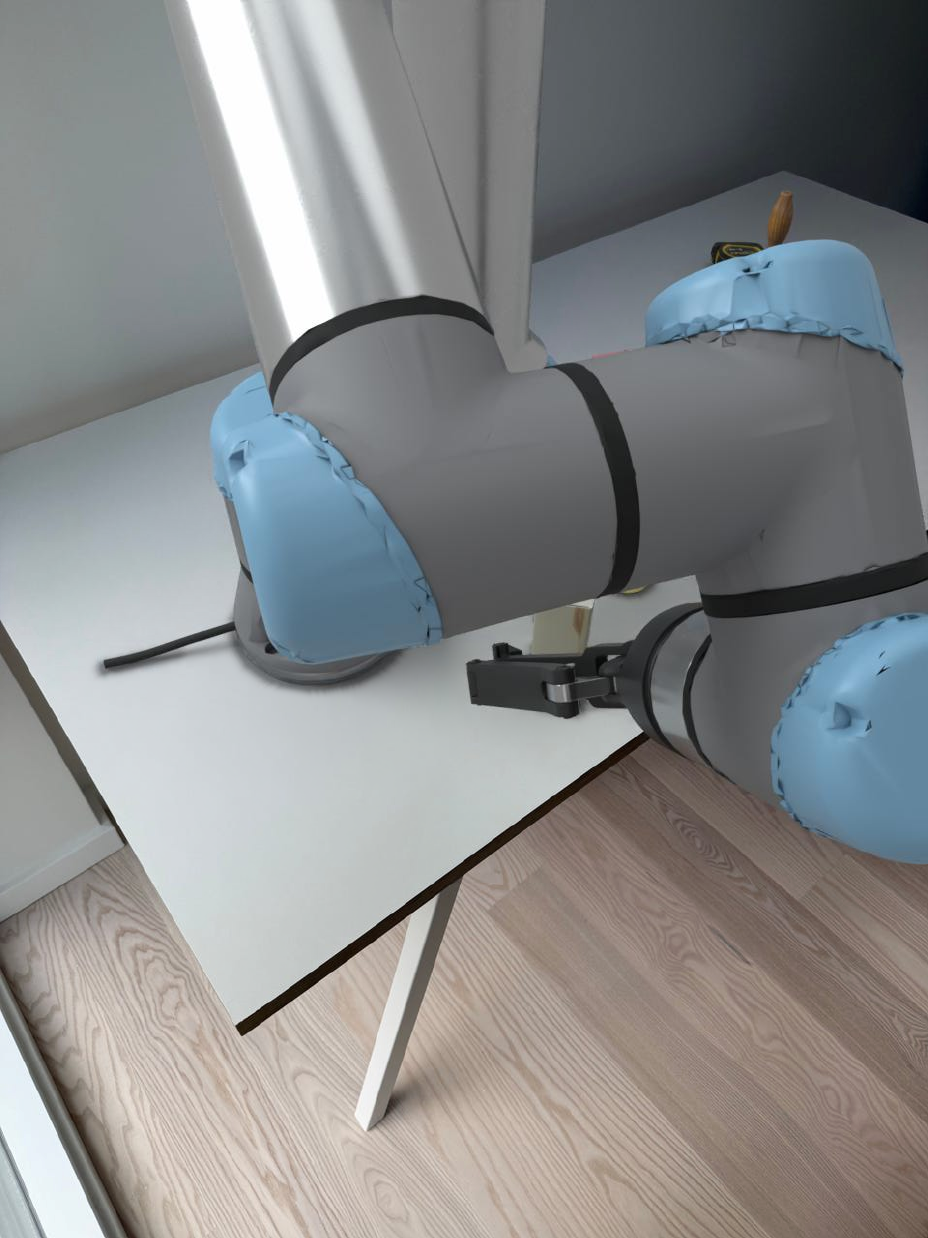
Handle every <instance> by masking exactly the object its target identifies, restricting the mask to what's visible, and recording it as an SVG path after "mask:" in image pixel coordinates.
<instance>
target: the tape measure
mask: <svg viewBox="0 0 928 1238" xmlns="http://www.w3.org/2000/svg"><path fill="white" fill-rule="evenodd" d="M765 249H766V248H764V247H763V245H762V244H760V243H757V242H751V241H749V242H748V241H716V242H715V243H714V244H713V246H711V251H710V257H711V263H712V265H714V264H717V263H719V262H722V261H725V260H728V259H731V258H735V257H745V256H748V255H751V254H754V253H757V252H759V251H762V250H765Z"/></svg>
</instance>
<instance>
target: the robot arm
mask: <svg viewBox="0 0 928 1238" xmlns="http://www.w3.org/2000/svg"><path fill="white" fill-rule="evenodd" d="M162 1H163V4H164V8H165V12H166V16H167V19H168V23H169V27H170V31H171V34H172V37H173V42H174V46H175V49H176V53H177V57H178V60H179V64H180V68H181V72H182V75H183V80H184V83H185V88H186V91H187V94H188V98H189V102H190V106H191V109H192V113H193V116H194V121H195V124H196V128H197V132H198V136H199V139H200V143H201V147H202V151H203V155H204V158H205V162H206V166H207V170H208V173H209V177H210V180H211V184H212V188H213V192H214V195H215V200H216V203H217V207H218V211H219V215H220V218H221V221H222V222H221V223H222V226H223V230H224V233H225V237H226V241H227V245H228V248H229V252H230V255H231V259H232V264H233V267H234V271H235V275H236V278H237V282H238V287H239V289H240V292H241V297H242V302H243V305H244V308H245V312H246V315H247V320H248V323H249V327H250V330H251V334H252V338H253V342H254V346H255V350H256V353H257V357H258V361H259V364H260V368H261V371H259V372H257V373H254V374H253V375H251V376H249V377H247V378H246V379H244V380H243V381H241V382H240V383H239V384H237V385H236V386H235V387H234V388H233V389H232V390H231V391H230V394H229V395H228V396H226V397H225V398H224V399H222V401H221V402H220V404H219V405H218V406H217V408H216V410H215V411H214V414H213V417H212V420H211V424H210V427H209V428H210V430H209V443H210V448H211V455H212V459H213V464H214V465H213V477H214V481H215V484H216V487H217V489H218V491H219V492H220V493H221V494H222V497H223V501H224V504H225V509H226V513H227V518H228V521H229V526H230V531H231V533H232V534H231V535H232V537H233V541H234V546H235V549H236V553H237V557H238V560H239V564H240V568H239V574H238V579H237V585H236V590H235V596H234V602H233V621H231V622H227V623H224V624H220V625H218V626H215V627H214V626H213V627H211V628H207V629H205V630H202V631H199V632H194V633H192V634H189V635H186V636H183V637H180V638H177V639H174V640H172V641H171V640H170V641H169V642H166V643H163V644H160V645H156V646H154V647H150V648H147V649H143V650H141V651H137V652H133V653H129V654H125V655H120V656H116V657H111V658H106V659H103V666H104V668H105V669H106V670H107V669H112V668H117V667H121V666H125V665H130V664H134V663H138V662H141V661H144V660H148V659H152V658H154V657H158V656H161V655H165V654H167V653H169V652H173V651H175V650H178V649H181V648H184V647H186V646H190V645H193V644H197V643H200V642H203V641H205V640H208V639H211V638H215V637H219V636H221V635H225V634H228V633H231V632H234V631H235V634H236V637H237V640H238V643H239V646H240V648H241V649H242V652H243V653H244V655H245V656H246V657H247V659H248V660H249V661H250V662H251V663H252V664H253V665H254V666H255V667H256V668H258V669H260V671H263V672H264V673H266V674H268V675H269V676H272V677H275V678H276V679H279V680H281V681H286V682H290V683H295V684H296V683H297V684H305V685H306V684H307V685H308V684H309V685H321V684H322V685H323V684H331V683H337V682H340V681H344V680H349V679H351V678H354V677H356V676H359V675H361V674H363V673H365V672H367V671H369V670H371V669H372V668H374V667H376V666H378V665H379V664H380V663H382V662H383V661H384V660H385V659H386V658H387V657H388V656H389V655H390V654H391V653H392V652H393V651H397V650H402V649H407V648H413V647H417V648H422V647H426V648H431V647H434V646H436V645H438V644H440V642H442V640H445V639H449V638H452V637H456V636H459V635H463V634H466V633H470V632H473V631H476V630H481V629H484V628H487V627H492V626H494V625H499V624H503V623H505V622H508V621H513V620H516V619H520V618H525V617H527V616H532V615H534V614H536V613H540V612H543V611H547V610H551V609H555V608H559V607H563V606H567V605H571V604H574V603H578V602H582V601H586V600H590V599H595V600H599V599H600V598H603V597H607V596H610V595H617V594H620V593H621V592H625V591H629V590H634V589H638V588H642V587H645V588H646V587H649V586H653V585H657V584H661V583H666V582H670V581H674V580H678V579H683V578H686V577H690V576H694V577H695V580H696V583H697V588H698V591H699V596H700V601H701V602H700V601H699V602H698V601H697V602H694V601H693V602H686V603H682V604H678V605H675V606H672V607H670V608H668V609H666V610H663V611H662V612H660V613H658V614H657V615H656V616H654V617H653V618H651V619H650V620H649V621H648V622H647V623H646V624H644V626H643V627H642V629H641V630H640V631H639V632H638V634H636V636H635V637H634V638H633V639H630V640H627V641H625V642H604V643H602V642H601V643H599V644H595V645H591V646H587V648H586V649H585V650H584V652H583V653H564V654H531V653H529V654H524V653H523V649H520V648H518V647H516V646H513V645H511V644H509V643H508V642H504V641H503V642H496V643H492V645H491V651H492V658H493V659H487V660H481V659H480V658H474V659H471V660H469V661H467V662H466V663H465V668H466V678H467V685H468V693H469V699H470V705H475V706H479V707H480V706H485V707H495V708H503V709H512V710H522V711H532V712H538V713H539V712H540V713H547V714H548V715H552V716H554V717H557V718H563V719H565V720H568V719H569V720H570V719H573V718H574V717H577V716H579V715H581V714H580V710H581V709H582V705H581V700H586V701H588V703H589V704H590V706H591V707H593V708H595V709H610V710H611V709H613V710H614V709H615V710H616V709H617V710H627V711H628V713H629V714H630V716H631V718H632V720H634V722H635V723H636V724H637V726H638V727H639V728H640V730H641V731H642V732H643V733H644V734H645V735H646V736H647V737H648V738H650V739H651V740H653V742H655V743H657V744H658V745H660V746H661V747H663V748H665V749H667V750H669V751H671V752H672V753H674V754H676V755H678V756H680V757H682V758H684V759H686V760H688V761H691V762H694V763H695V764H697V765H700V766H701V767H703V768H704V769H707V770H709V771H711V772H713V773H715V774H717V775H719V776H721V778H724V779H725V780H727V781H729V782H730V783H732V785H735V786H738V787H739V788H740V789H743V790H744V791H746V792H748V793H749V794H751V795H753V796H754V797H756V798H758V799H760V800H761V801H762V802H765V803H767V804H768V805H770V806H771V807H773V808H775V809H777V810H778V811H780V812H781V813H783V814H785V815H787V816H788V817H790V819H792V820H794V821H795V822H796V823H797V824H798V825H799V826H800V827H801V828H803V829H805V830H807V831H808V832H812V833H813V834H815V835H816V836H817V837H822V838H826V839H829V840H832V841H836V842H838V843H841V844H844V845H846V846H848V847H849V848H850V847H851V848H852V849H855V850H857V851H859V852H861V853H866V854H870V855H873V856H875V857H879V858H881V859H884V860H888V861H892V862H897V863H903V864H911V865H912V864H913V865H928V535H927V529H926V523H925V515H924V511H923V505H922V500H921V493H920V487H919V481H918V475H917V468H916V462H915V453H914V449H913V442H912V435H911V429H910V423H909V422H910V421H909V416H908V410H907V404H906V398H905V391H904V384H903V379H904V374H905V369H904V368H905V367H904V365H903V360H902V356H901V354H900V353H899V352H898V350H897V346H896V342H895V338H894V333H893V330H892V326H891V322H890V317H889V312H888V308H887V305H886V301H885V299H884V298H883V297H882V294H881V289H880V286H879V284H878V280H877V277H876V276H877V275H876V273H875V269H874V267H873V264H872V263H871V261H870V259H869V258H868V257H867V255H866V254H865V253H864V252H863V251H861V250H860V249H859V248H857V247H856V246H854V245H852V244H851V243H848V242H844V241H840V240H837V239H806V240H805V239H804V240H799V241H793V242H787V243H782V244H781V245H777V246H773V247H770V248H767V247H766V248H764V249H765V250H762V251H759V252H757V253H754V254H751V255H748V256H745V257H735V258H731V259H728V260H725V261H722V262H719V263H717V264H714V265H713V264H712V265H709V266H707V267H705V268H702V269H700V270H697V271H695V272H693V273H691V274H689V275H687V276H685V277H683V278H681V279H679V280H677V281H676V282H674V283H672V284H670V285H669V286H667V287H666V289H665V290H663V291H662V292H660V293H659V294H658V295H657V296H656V297H654V299H653V300H651V301H652V302H651V303H650V304H649V305H648V308H647V309H646V313H645V315H644V325H643V326H644V331H645V332H644V333H645V334H644V335H645V345H644V347H639V348H635V349H631V350H630V349H629V351H626V352H621V353H617V354H613V355H608V356H602V357H597V358H592V357H591V358H587V359H582V360H577V361H573V362H571V361H570V362H565V363H564V362H563V363H559V364H558V363H557V362H556V360H554V357H552V356H551V355H550V354H548V351H547V347H546V344H545V343H544V342H543V340H542V339H541V338H540V336H538V335H537V334H536V333H535V332H534V331H533V330H532V329H531V328H530V316H531V315H530V313H531V297H532V296H531V295H532V277H533V259H534V243H535V223H536V222H535V221H536V206H537V205H536V204H537V190H538V189H537V188H538V187H537V186H538V173H539V172H538V171H539V170H538V169H539V154H540V153H539V152H540V134H541V133H540V132H541V118H542V117H541V115H542V98H543V81H544V61H545V47H546V46H545V43H546V27H547V26H546V24H547V10H548V9H547V7H548V0H391V17H392V18H391V19H392V25H391V21H390V19H389V16H388V13H387V10H386V7H385V5H384V2H383V1H384V0H162ZM621 594H622V593H621ZM609 656H614V657H613V658H611V659H609Z"/></svg>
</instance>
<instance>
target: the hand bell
mask: <svg viewBox="0 0 928 1238" xmlns="http://www.w3.org/2000/svg"><path fill="white" fill-rule="evenodd" d="M793 194H794V193H793V192H792V190H791V191H790V190H782V191H781V192H780V195H779V196H778V199H777V201H776V202H775V204H774V205H773V207H772V210H771V212H770V214H769V218H768V222H767V230H766V233H767V234H766V236H767V246H766V249H767V248H770V247H773V246H777V245H781V244H784V241H785V239H786V237H787V235H788V234H789V231H790V229H791V226H792V222H793V217H794V203H793V201H794V200H793V199H794V198H793V197H794V195H793Z"/></svg>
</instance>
